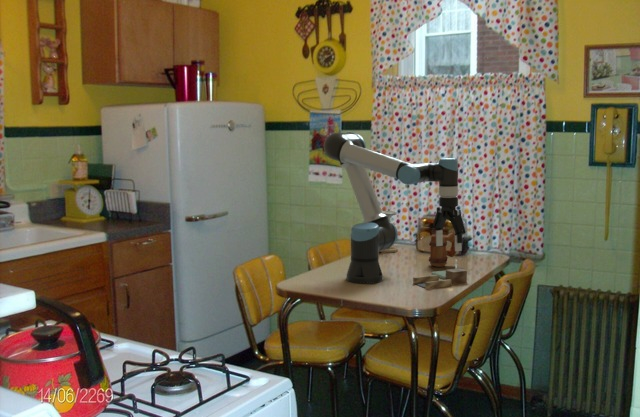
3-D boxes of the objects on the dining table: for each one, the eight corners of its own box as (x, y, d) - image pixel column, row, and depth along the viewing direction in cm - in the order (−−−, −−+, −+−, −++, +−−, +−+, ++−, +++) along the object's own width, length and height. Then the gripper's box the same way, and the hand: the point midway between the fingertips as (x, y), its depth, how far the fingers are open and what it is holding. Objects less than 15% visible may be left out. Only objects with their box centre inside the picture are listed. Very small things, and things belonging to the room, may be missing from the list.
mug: (432, 268, 294) (433, 235, 292) (424, 264, 302) (425, 232, 300) (461, 266, 298) (462, 234, 296) (453, 263, 305) (454, 231, 304)
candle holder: (385, 247, 344) (386, 210, 341) (402, 251, 334) (403, 212, 332) (369, 250, 336) (369, 212, 333) (386, 254, 326) (386, 214, 324)
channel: (426, 288, 257) (426, 282, 257) (413, 283, 266) (413, 277, 266) (451, 285, 262) (451, 279, 262) (437, 280, 271) (437, 274, 271)
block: (452, 284, 265) (452, 272, 265) (445, 281, 270) (445, 269, 269) (466, 282, 268) (466, 270, 268) (459, 279, 273) (459, 268, 272)
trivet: (445, 279, 273) (445, 276, 273) (431, 274, 282) (431, 271, 282) (464, 277, 277) (464, 274, 277) (450, 272, 286) (450, 269, 286)
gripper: (474, 198, 252) (474, 252, 254) (439, 193, 275) (439, 243, 277) (458, 199, 249) (458, 254, 251) (424, 194, 272) (424, 244, 274)
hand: (448, 248), depth 264 cm, fingers open, 13 cm apart
